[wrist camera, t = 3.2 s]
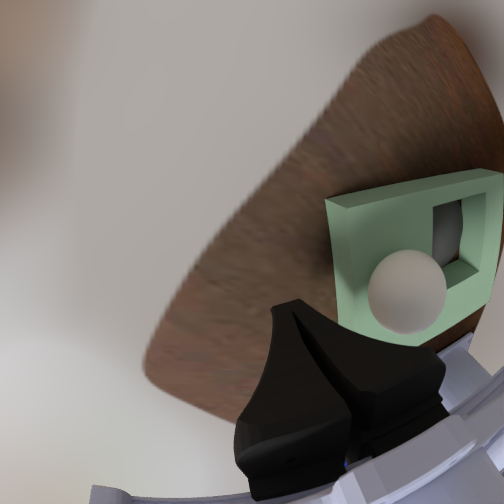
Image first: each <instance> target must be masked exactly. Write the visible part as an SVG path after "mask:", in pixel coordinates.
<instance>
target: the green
mask: <svg viewBox="0 0 504 504" xmlns="http://www.w3.org/2000/svg"><path fill="white" fill-rule="evenodd" d="M503 196H504V177H503V173H500V172H495V171H491V170H486V169H481V168H479V169H473V170H467V171H461V172H455V173H449V174H444V175H438V176H433V177H427V178H422V179H417V180H412V181H406V182H401V183H396V184H392V185H387V186H382V187H377V188H372V189H368V190H363V191H358V192H354V193H349V194H345V195H340V196H336V197H332V198H327V199H325V203H326V209H327V216H328V223H329V230H330V238H331V246H332V254H333V263H334V273H335V284H336V295H337V308H338V324H339V325H341V326H343V327H345V328H347V329H349V330H352V331H354V332H357V333H359V334H362V335H364V336H367V337H370V338H374V339H377V340H381V341H385V342H389V343H394V344H400V345H407V346H419V345H421V344H423V343H424V342H426V341H428V340H430V339H432V338H433V337H435V336H437V335H438V334H440V333H442V332H444V331H445V330H447V329H448V328H450V327H452V326H453V325H455V324H456V323H458V322H460V321H461V320H463V319H464V318H466V317H467V316H469V315H470V314H472V313H473V312H475V311H476V310H478V309H479V308H480V307H482V306H483V305H485V304H486V303H487V302H489V299H490V295H491V291H492V287H493V282H494V278H495V272H496V267H497V261H498V255H499V248H500V240H501V230H502V218H503ZM458 199H462V210H461V207H460V204H459V202H458V201H457V200H458ZM459 243H460V250H459V259H458V260H456V261H454V262H452V263H450V264H448V265H446V264H447V263H448V262H449V261H450V260H451V259H452V257H453V256H454V254H455V252H456V250H457V248H458V246H459ZM407 249H409V250H417V251H421V252H423V253H425V254H427V255H429V256H430V257H432V258H433V259H434V260H435V261H436V262H437V263H438V265H439V266H440V268H441V269H442V271H443V274H444V276H445V280H446V286H447V295H446V301H445V305H444V307H443V310H442V312H441V314H440V315H439V317H438V318H437V320H436V321H435V322H434V323H433V324H432V325H431V326H429V327H428V328H427V329H425V330H423V331H421V332H419V333H416V334H411V335H400V334H395V333H393V332H390V331H388V330H386V329H385V328H383V327H382V326H381V325H380V324H379V323H378V322H377V321H376V319H375V318H374V316H373V314H372V312H371V310H370V307H369V303H368V286H369V281H370V278H371V276H372V274H373V272H374V270H375V268H376V267H377V266H378V264H379V263H380V262H381V261H382V260H383V259H384V258H386V257H387V256H388V255H390V254H392V253H394V252H397V251H400V250H407ZM445 265H446V266H445Z"/></svg>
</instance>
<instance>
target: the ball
mask: <svg viewBox="0 0 504 504" xmlns="http://www.w3.org/2000/svg"><path fill="white" fill-rule="evenodd" d="M446 295H447V286H446V280H445V276H444V274H443V271H442V269H441V268H440V266H439V265H438V263H437V262H436V261H435V260H434V259H433V258H432V257H430V256H429V255H427V254H425V253H423V252H421V251H417V250H409V249H407V250H400V251H397V252H394V253H392V254H390V255H388V256H387V257H386V258H384V259H383V260H382V261H381V262H380V263H379V264H378V266H377V267H376V268H375V270H374V272H373V274H372V276H371V278H370V281H369V286H368V303H369V307H370V310H371V312H372V314H373V316H374V318H375V319H376V321H377V322H378V323H379V324H380V325H381V326H382V327H383V328H385V329H386V330H388V331H390V332H393V333H395V334H400V335H411V334H416V333H419V332H421V331H423V330H425V329H427V328H428V327H429V326H431V325H432V324H433V323H434V322H435V321H436V320H437V318H438V317H439V315H440V314H441V312H442V310H443V307H444V305H445V301H446Z"/></svg>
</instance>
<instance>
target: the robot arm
mask: <svg viewBox="0 0 504 504" xmlns="http://www.w3.org/2000/svg"><path fill="white" fill-rule="evenodd" d="M271 313H272V317H273V329H272V339H271V345H270V350H269V355H268V359H267V362H266V365H265V368H264V371H263V374H262V376H261V379H260V381H259V384H258V386H257V388H256V390H255V392H254V393H253V395H252V397H251V399H250V401H249V403H248V404H247V406H246V407H245V409H244V410H243V412H242V413H241V415H240V416H239V418H238V419H237V423H236V428H235V435H234V455H235V462H236V464H237V466H238V467H239V469H240V470H241V471H242V472H243V473H244V474H245V476H246V477H247V478H248V482H249V487H250V492H247V493H240V494H233V495H224V496H215V497H214V496H213V497H198V498H152V497H150V498H149V497H137V496H131V495H130V494H128V493H127V492H125V491H123V490H120V489H117V488H112V487H105V486H99V485H92V489H91V495H90V502H89V504H504V472H502V471H503V470H504V366H503V367H502V368H501V369H500V370H499V371H498V372H497V373H495V374H494V375H493V376H491V375H490V374H489V373H488V372H487V371H486V370H485V369H484V368H483V367H482V366H481V365H480V364H479V363H478V362H477V361H476V360H475V359H474V358H473V357H472V356H471V355H470V354H469V353H468V349H469V346H470V343H471V340H472V337H473V333H472V332H469V333H468V334H467V335H465V336H464V337H462V338H461V339H459V340H458V341H456V342H455V343H453V344H452V345H450V346H449V347H447V348H446V349H444V350H442V351H441V352H439V353H437V354H436V353H435V352H434V351H432V350H431V349H430V348H429V347H419V346H407V345H400V344H394V343H389V342H385V341H381V340H377V339H374V338H370V337H367V336H364V335H362V334H359V333H357V332H354V331H352V330H349V329H347V328H345V327H343V326H341V325H339V324H337V323H336V322H334V321H332V320H330V319H329V318H327V317H326V316H324V315H322V314H321V313H319V312H318V311H316V310H315V309H313V308H312V307H311V306H309V305H308V304H306V303H305V302H304V301H302V300H301V299H296V300H293V301H290V302H286V303H283V304H279V305H276V306H273V307H272V308H271ZM345 462H346V465H347V466H344V464H345ZM501 472H502V473H501Z"/></svg>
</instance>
